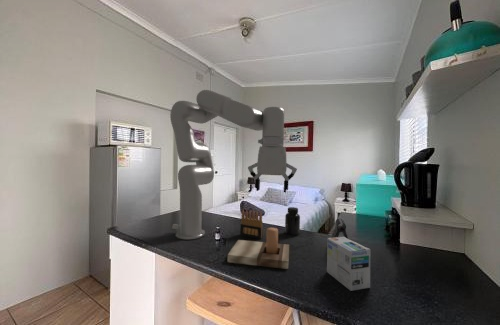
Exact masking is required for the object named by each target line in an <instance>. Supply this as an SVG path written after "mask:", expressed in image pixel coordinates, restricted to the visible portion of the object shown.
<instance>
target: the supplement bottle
mask: <svg viewBox="0 0 500 325" xmlns="http://www.w3.org/2000/svg"><path fill="white" fill-rule="evenodd" d="M284 216H285V217H284V218H285V219H284V221H285V222H284V232H285V234H287V235H288V236H291V237H292V236H293V237H294V236H298V235H300V229H301V228H300V226H301V225H300V224H301V216H300V214H299V208H298V207H296V206H295V207H293V206H292V207H291V206H289V207H287V213H286V214H285V215H284Z"/></svg>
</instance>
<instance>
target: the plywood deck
mask: <svg viewBox="0 0 500 325" xmlns="http://www.w3.org/2000/svg"><path fill="white" fill-rule="evenodd" d="M289 259H290V244H288V243H287V244H286V243H284V244H283V243H278V255H277V254H268V253H266V241H255V240H244V239H238V240H237V241H236V242H235V244H233V246H232V247H231V249H230V251H229V252H228V253H227V263H233V264H240V265H249V266H258V267H266V268H274V269H275V268H276V269H284V270H288V269H289Z"/></svg>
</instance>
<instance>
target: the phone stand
mask: <svg viewBox="0 0 500 325" xmlns="http://www.w3.org/2000/svg"><path fill="white" fill-rule="evenodd" d="M340 220H341V221H340ZM341 223H342V224H341ZM340 224H341V225H340ZM346 229H347V225H346V223H345V221H344V220H343V218H340V219H339V218H337V219H336V220H335V228H333V232H332V234H331V236H330V238H336V237H340V236H339V235H340V233H342V235H343V236H342V237H346V238H347V239H349V237H348V234H347V231H346Z"/></svg>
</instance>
